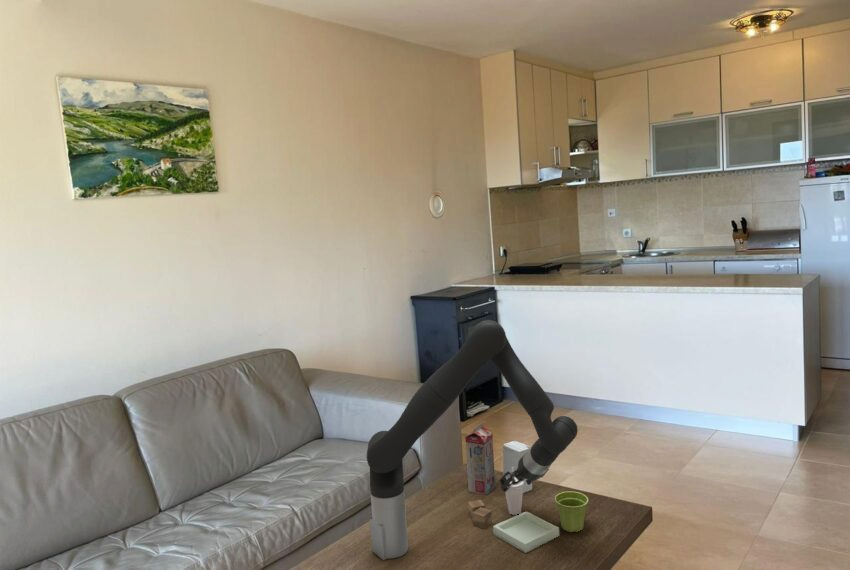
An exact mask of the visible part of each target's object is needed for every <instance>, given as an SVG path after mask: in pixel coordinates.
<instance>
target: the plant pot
mask: <svg viewBox="0 0 850 570" xmlns="http://www.w3.org/2000/svg"><path fill="white" fill-rule="evenodd" d="M554 501H555V503H556V506H557V508H558V514H559V519H560V527H561V528H562V530H564V531H565V530H566V531H565V532H569V533H573V532H577V533H579V532H580V530H581V531H582V530H583V529H584V526H585V525H584V523H585V515H586V508H587V506H588V504H589V497H588V496H587V495H585V494H584V493H582V492H578V491H573V490H572V491H570V490H569V491H563V492H559V493H558V494H556V495H554ZM578 531H579V532H578Z"/></svg>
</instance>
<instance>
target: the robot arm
mask: <svg viewBox="0 0 850 570" xmlns="http://www.w3.org/2000/svg"><path fill="white" fill-rule="evenodd" d="M490 361H491V362H492V364H494V366H495V367H496V368H497V369H498V371H499V372H500V373H501V375H502V376H503V378H504V380H505V381H506V383H507V384H508V386H509V388H510V389H511V391H512V393H513V395H514V396H515V398H516V399H517V400H518V402H519V404H520V405H521V407H523V409H524V410H525V412H526V413H527V414H528V416H529V417H530V419H531V421H532V425H533V427H534V429H535V432H536V434H537V437H538V439H537V440H535V442H534V443H533V444H532V445H531V446H529V447H530V448H529V449H528V450H527V451H526V453H525V454H524V455H523V456H522V457H521V459H520V460H519V462H518V468H517V469H516V470H515V471H514V472H512V473H510V472H506V473H505V474H504V476H503V475H502V476H501V478H499V480H498V482H499V483H500V488H501V490H502V492H504V493H505V492H506V491H507V490H508V489H509V488H510V487H511V486H512V485H517V484H519V483H521V482H522V481H526V482H527V484H528V485H530V484H531V483H532V484H533V482H534V481H537V480H540V479H541V478H543V477H544V476H545V475H546V474H547V473H548V471H549V470H550V468H551V466H552V464H553V463H554V462H555V461H556V460H557V459H558V457H559V456H560V454H561V453H563V452H564V451H565V450H566V449H567V448H568V446H570V444H571V443H572V442H574V440H575V439H576V437H577V435H578V430H579V429H578V425H577V423H576V421H575V420H574V419H573V418H571V417H569V416H566V415H560V416H557V417H556V418H555V419H554V420H553V421H552V417H551V416H552V413H553V412H554V409H555V405H554V402H552V400H551V399H550V398H549V397H550V396H549V395H548V394H547V393H546V391H545V390H544V389H543V387H542V386H541V385H540V384H539V382H538V381H537V380H536V378H534V376H533V375H532V373H530V371H529V370H528V369H527V367H526V366H525V365H524V364H523V363H522V360H520V358H519V356H518V355H517V354H516V352H515V351H514V349H513V347H512V345H511V344H510V340H509V339H508V337H507V334H506V331H505V329H504V328H503V326H502V325H501V324H500V323H499V322H498V321H494V320H492V319H485V320H482V321H480V322H478V323H477V324H476V325H475V326H474V328H473V329H472V330H471V333H470V334H469V336H468V337H467V339H466V340H465V341H464V343H463V344H462V345H461V347H460V348H459V349H458V351H457V352H456V353H455V354H454V355H453V356H452V357H451V358H450V359H448V361H447V362H445V363H444V364H442V365H441V366H440V367H438V369H437V370H436V371H434V373H433V374H432V375H430V376H429V378H427V379H426V380H425V382H423V384H422V385H421V386H420V387H419V389H417V391H416V392H415V393H414V395H413V396H412V398H411V399H410V400H409V402H408V404H407V405H406V406H405V408H404V410H403V412H402V414H401V415H400V416H399V418H398V420H397V421H396V422H395V423H394V424H393V426H392V427H391V428H389V430H380V431H377V432H376V433H374V434H373V435H372V436H371V438H370V439H369V441H368V444H367V449H366V462H367V465H368V466H369V491H370V502H371V517H372V518H369V527H370V528H369V529H370V539H371V541H370V542H371V552H372V551H373V553H374V554H375V555H377V556H378V558H380V559H381V560H383V561H385V560H388V559H389V560H391V559H396V558H400V557H403V555H405V554H407V552H408V550H409V543H408V542H409V541H408V530H407V529H408V527H407V512H406V499H405V498H406V496H405V487H404V486H405V485H404V483H405V482H404V481H405V480H404V468H403V467H404V465H403V464H404V463H403V459H404V457H405V456H406V455H407V454H408V452H409V451H410V450H411V448H412V447H413V446H414V444H415V443H416V442H417V441H418V439H420V438H421V436H422V435H423V434H425V432H426V431H428V430H429V429H430V428H431V427H432V426H433V425H434V423H436V422H437V421H438V420H439V418H440V417H442V415H443V414H444V413H446V411H447V410H448V409H449V408H450V407H451V406H452V404H454V403H455V401H456V400H457V399H458V397H459V396H460V395H461V394H462V392H463V391H465V389H466V387H467V385H468V384H469V383H470V381H471V380H472V379H473V377H474V376H475V375H476V374H477V373H478V372H479V371H480V370H482V368H483V367H484V366H485V365H486V364H487V363H489V362H490ZM514 477H515V478H516V479H517V480H518V481H517V482H516V480H515V478H514ZM510 482H512V483H510Z"/></svg>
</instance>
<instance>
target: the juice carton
mask: <svg viewBox="0 0 850 570" xmlns="http://www.w3.org/2000/svg"><path fill="white" fill-rule="evenodd" d="M493 439H494V438H493V432H492V431H491V430H489V429H488V428H486V427H485V426H484V421H481V422H480V423H478V425H476V426H475V427H474V428H473V431H471V432H470V433H469V434H468V435H466V436H465V453H466V454H465V455H466V467H467V468H466V469H467V484H468V485H467V486H468V492H469V493H474V494H475V493H476V494H481V495H488V494H489V493H490V492H492V490H493V489H494V488H495V487H496V479H495V477H496V476H495V475H496V474H495V459H494V457H495V456H494V454H495V453H494V440H493Z"/></svg>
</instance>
